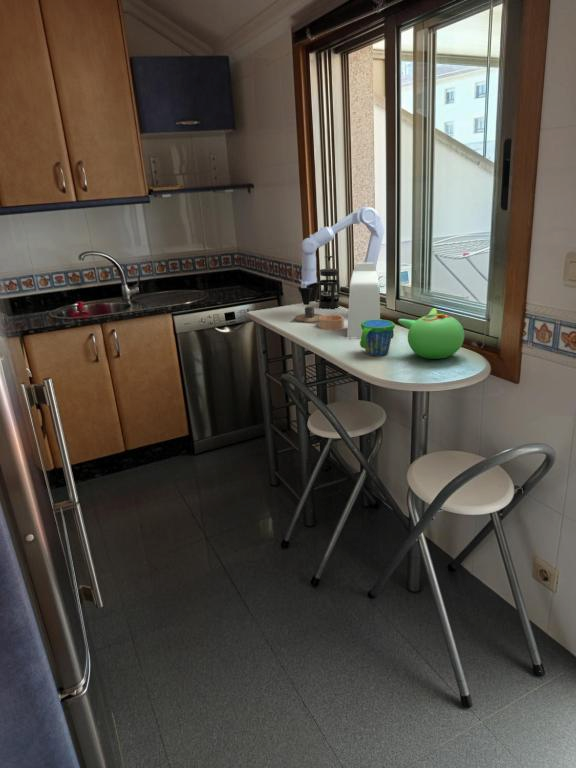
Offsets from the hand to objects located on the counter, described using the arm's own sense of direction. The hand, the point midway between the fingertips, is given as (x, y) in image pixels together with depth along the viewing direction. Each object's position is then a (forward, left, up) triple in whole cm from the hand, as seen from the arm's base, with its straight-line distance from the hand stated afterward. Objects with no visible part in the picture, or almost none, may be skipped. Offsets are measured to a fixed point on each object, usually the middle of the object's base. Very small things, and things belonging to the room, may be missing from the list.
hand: (309, 302), depth 220 cm
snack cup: (-36, +37, -8) cm, 52 cm away
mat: (0, 0, -7) cm, 7 cm away
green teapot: (-54, +36, -8) cm, 65 cm away
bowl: (-12, +9, -7) cm, 17 cm away
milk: (-26, +14, -8) cm, 31 cm away
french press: (0, -26, -8) cm, 27 cm away
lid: (0, 0, -7) cm, 7 cm away
